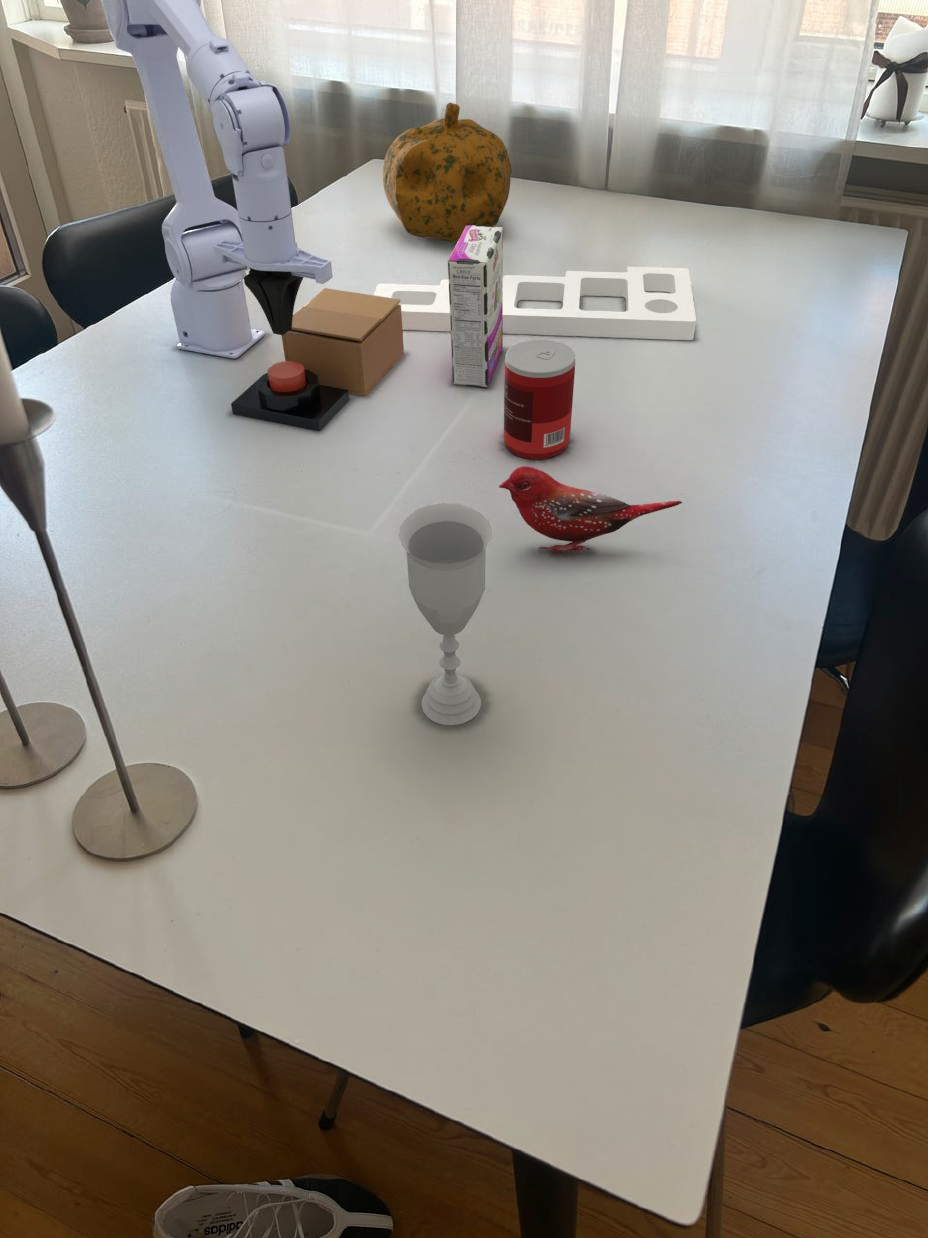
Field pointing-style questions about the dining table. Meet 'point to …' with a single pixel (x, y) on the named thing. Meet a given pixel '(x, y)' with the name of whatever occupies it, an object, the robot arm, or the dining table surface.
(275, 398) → the block
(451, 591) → the chalice
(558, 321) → the holder
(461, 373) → the candy bar box
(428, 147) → the decorative pumpkin
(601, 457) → the dining table surface
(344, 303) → the flap
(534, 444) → the canned food
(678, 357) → the dining table surface
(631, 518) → the decorative bird figurine
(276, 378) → the button
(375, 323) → the carton
